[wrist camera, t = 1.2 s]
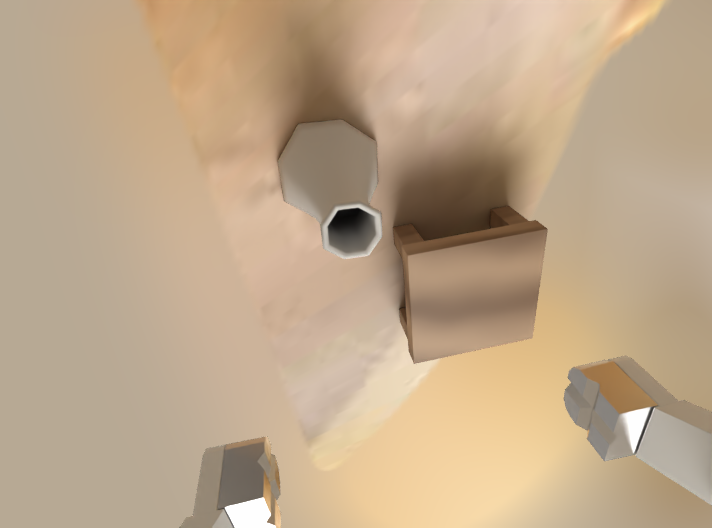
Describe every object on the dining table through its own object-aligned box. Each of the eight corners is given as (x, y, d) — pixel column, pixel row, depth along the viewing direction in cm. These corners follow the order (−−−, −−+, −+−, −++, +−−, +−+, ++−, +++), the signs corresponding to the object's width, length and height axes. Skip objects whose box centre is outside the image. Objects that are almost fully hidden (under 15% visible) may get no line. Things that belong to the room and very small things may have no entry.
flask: (286, 105, 26) (293, 144, 18) (391, 130, 28) (442, 176, 20) (269, 209, 30) (267, 283, 21) (364, 225, 32) (398, 299, 23)
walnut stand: (389, 224, 32) (407, 255, 28) (511, 202, 33) (547, 229, 28) (397, 324, 37) (414, 363, 33) (503, 303, 38) (532, 338, 34)
